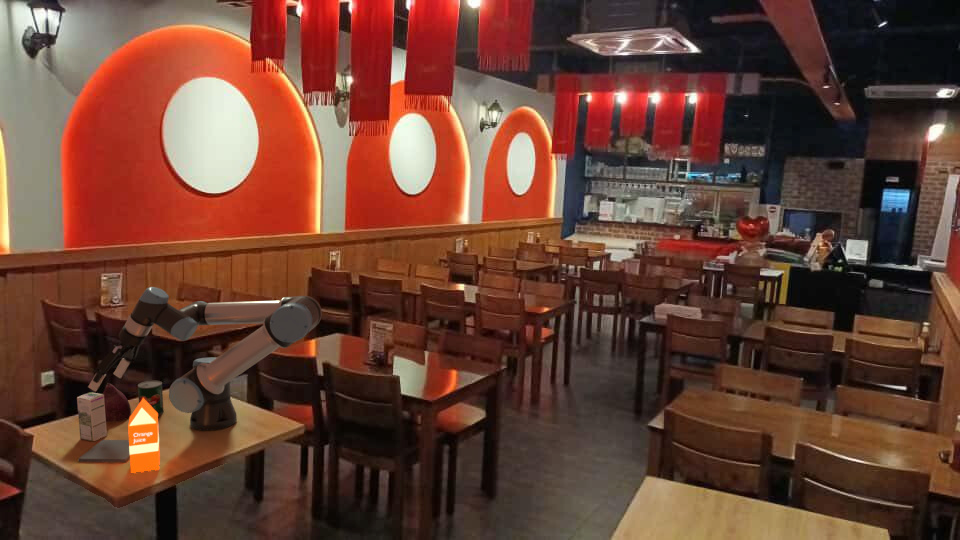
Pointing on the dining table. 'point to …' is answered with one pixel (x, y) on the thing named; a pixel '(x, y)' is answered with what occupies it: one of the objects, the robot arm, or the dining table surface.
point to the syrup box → (92, 416)
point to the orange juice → (144, 438)
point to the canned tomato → (152, 394)
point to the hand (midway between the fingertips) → (105, 382)
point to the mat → (108, 452)
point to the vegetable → (115, 404)
